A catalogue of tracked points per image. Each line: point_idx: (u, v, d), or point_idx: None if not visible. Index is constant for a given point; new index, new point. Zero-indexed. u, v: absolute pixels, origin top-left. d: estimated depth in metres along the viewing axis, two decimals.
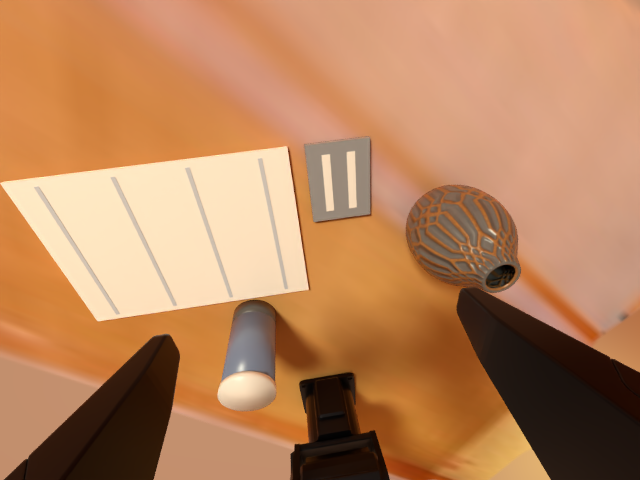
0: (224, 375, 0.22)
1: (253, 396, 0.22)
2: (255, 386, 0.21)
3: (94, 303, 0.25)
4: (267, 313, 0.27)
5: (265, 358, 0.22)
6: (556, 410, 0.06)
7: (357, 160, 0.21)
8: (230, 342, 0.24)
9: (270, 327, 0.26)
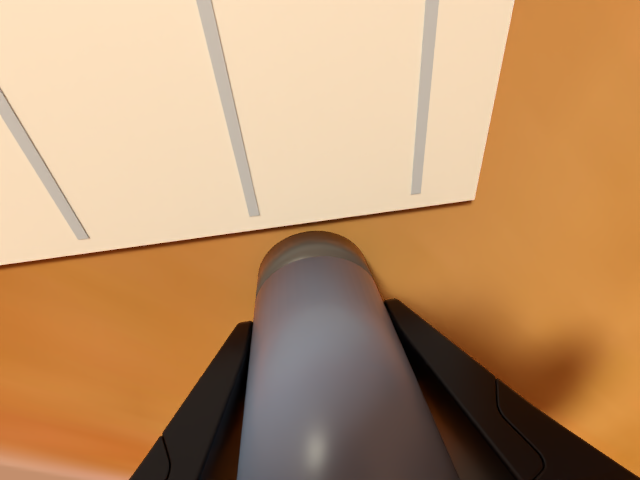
0: None
1: None
2: None
3: None
4: (361, 265, 0.09)
5: (428, 430, 0.05)
6: (445, 430, 0.06)
7: None
8: (259, 354, 0.07)
9: (382, 304, 0.08)
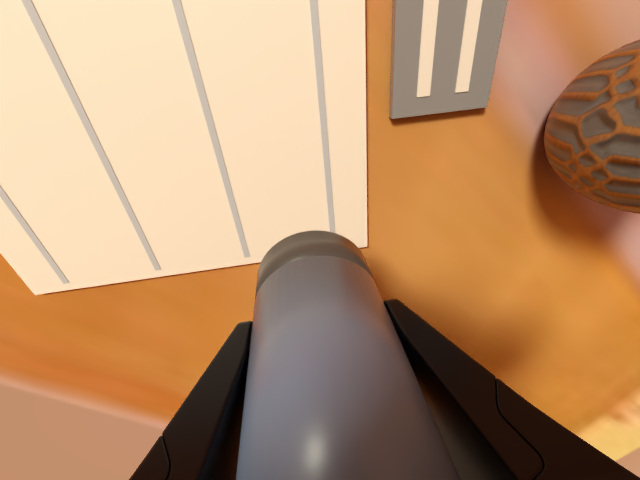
0: None
1: None
2: None
3: (24, 264, 0.15)
4: (361, 264, 0.09)
5: (429, 431, 0.05)
6: (445, 430, 0.06)
7: None
8: (259, 354, 0.06)
9: (382, 303, 0.08)
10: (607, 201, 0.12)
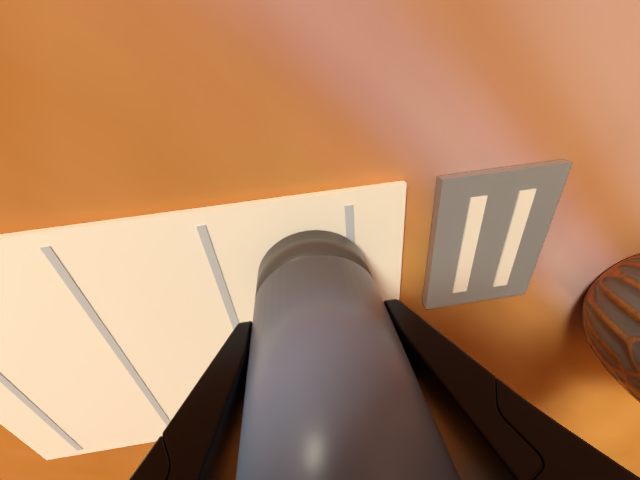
0: None
1: None
2: None
3: (36, 439, 0.15)
4: (361, 264, 0.09)
5: (428, 430, 0.05)
6: (445, 430, 0.06)
7: (534, 206, 0.11)
8: (259, 353, 0.06)
9: (382, 303, 0.08)
10: None
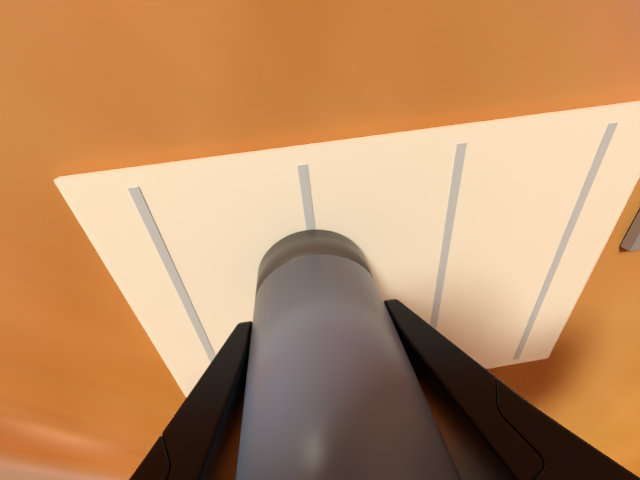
0: None
1: None
2: None
3: None
4: (361, 263, 0.09)
5: (429, 429, 0.05)
6: (445, 430, 0.06)
7: None
8: (259, 352, 0.06)
9: (382, 302, 0.08)
10: None
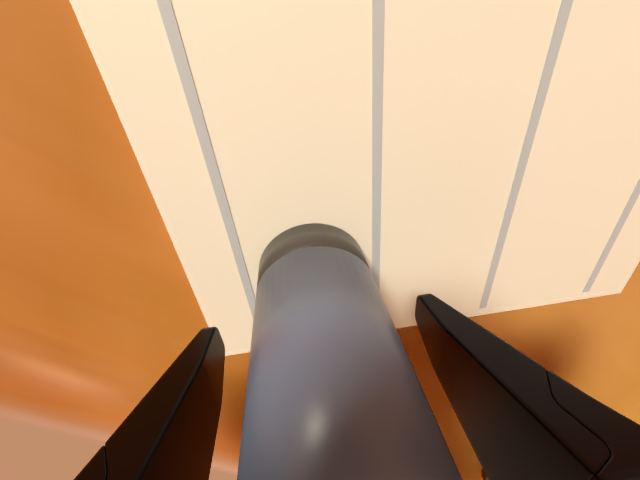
0: None
1: None
2: None
3: (223, 323, 0.12)
4: (358, 255, 0.09)
5: (418, 402, 0.05)
6: (494, 421, 0.06)
7: None
8: (261, 336, 0.07)
9: (378, 291, 0.08)
10: None
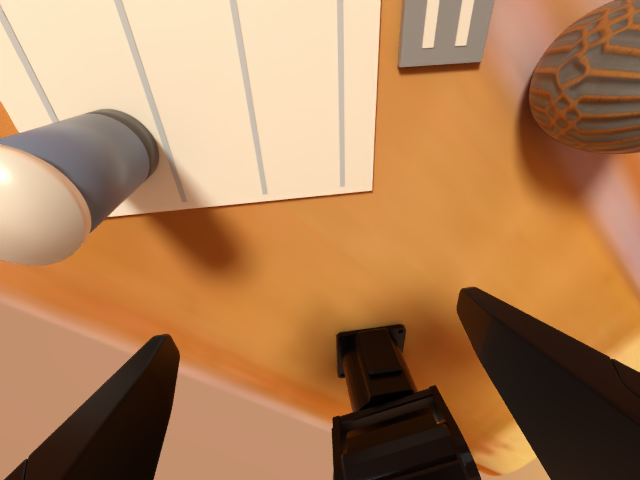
0: None
1: (26, 220, 0.10)
2: (17, 185, 0.09)
3: None
4: (127, 125, 0.14)
5: (71, 152, 0.10)
6: (556, 410, 0.06)
7: None
8: None
9: (123, 139, 0.13)
10: (578, 141, 0.15)
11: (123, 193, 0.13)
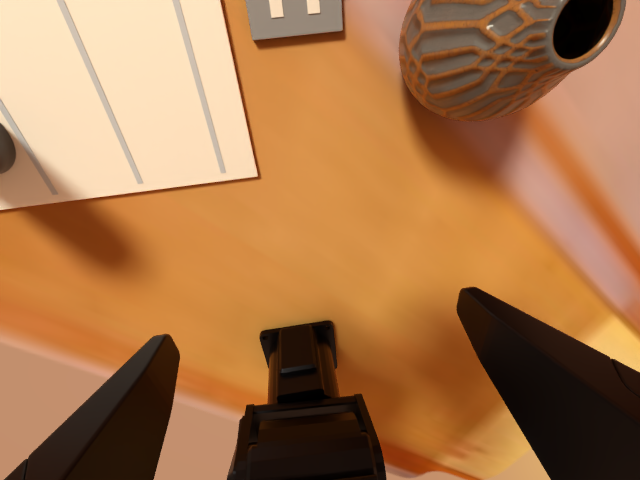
0: None
1: None
2: None
3: None
4: None
5: None
6: (556, 410, 0.06)
7: None
8: None
9: None
10: (438, 108, 0.13)
11: None
